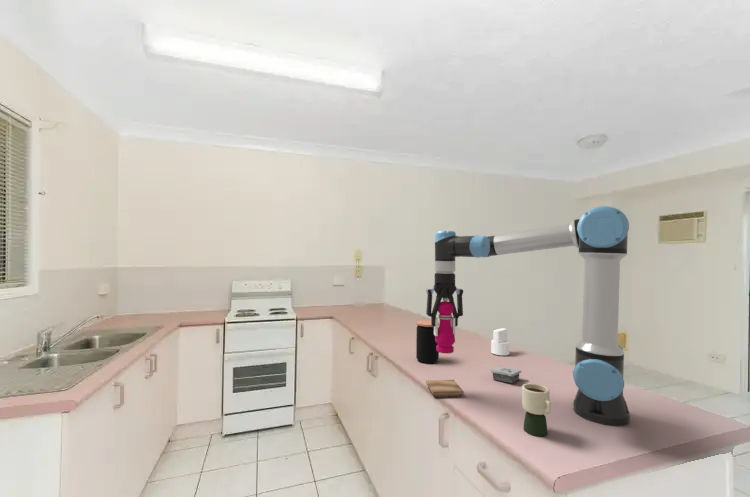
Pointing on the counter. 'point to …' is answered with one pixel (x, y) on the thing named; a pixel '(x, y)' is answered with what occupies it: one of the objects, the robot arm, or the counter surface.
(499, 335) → the cylinder with rectangular tab
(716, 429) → the counter surface
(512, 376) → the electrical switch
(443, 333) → the pepper mill
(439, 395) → the walnut stand
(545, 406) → the character mug
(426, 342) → the coffee jar
